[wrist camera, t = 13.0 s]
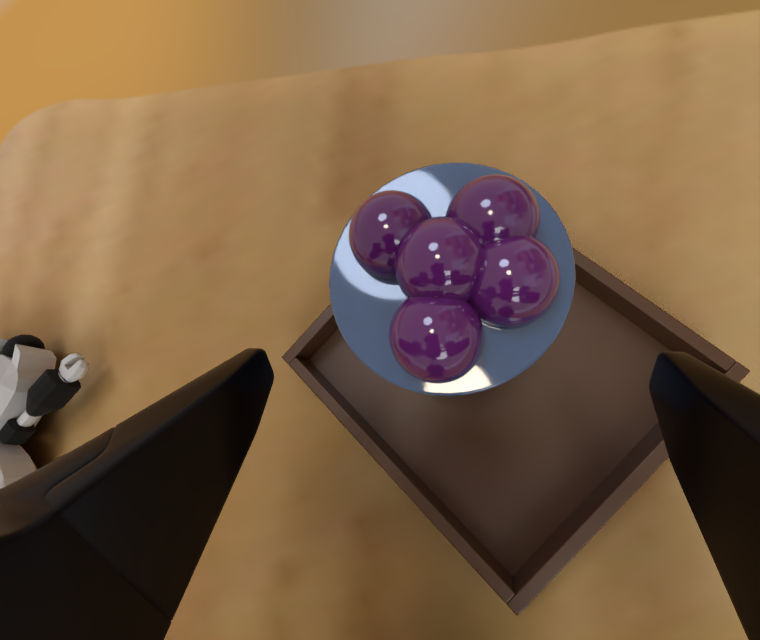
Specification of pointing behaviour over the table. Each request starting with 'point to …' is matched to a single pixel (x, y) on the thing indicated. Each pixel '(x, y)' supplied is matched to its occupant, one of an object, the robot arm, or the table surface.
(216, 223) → the table surface
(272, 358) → the table surface
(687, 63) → the table surface
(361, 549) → the table surface
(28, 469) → the robot toy
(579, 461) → the tray
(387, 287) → the grape cup
